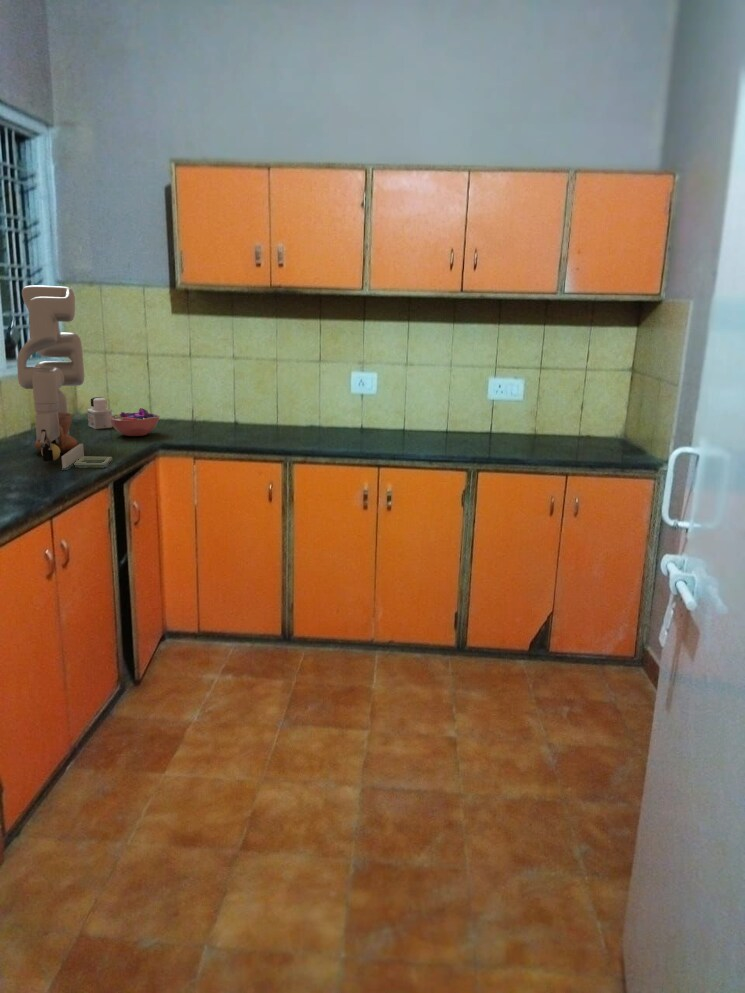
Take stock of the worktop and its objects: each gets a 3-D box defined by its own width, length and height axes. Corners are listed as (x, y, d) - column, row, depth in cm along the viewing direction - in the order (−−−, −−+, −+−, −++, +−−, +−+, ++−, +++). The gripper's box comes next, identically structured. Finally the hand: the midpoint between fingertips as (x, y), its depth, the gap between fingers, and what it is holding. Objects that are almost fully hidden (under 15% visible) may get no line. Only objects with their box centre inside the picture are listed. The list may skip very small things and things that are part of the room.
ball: (45, 458, 241) (44, 441, 239) (63, 458, 241) (62, 441, 240) (39, 462, 235) (38, 445, 233) (57, 462, 236) (56, 445, 234)
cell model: (104, 434, 289) (103, 407, 286) (150, 430, 302) (149, 404, 299) (120, 441, 277) (118, 414, 274) (167, 436, 290) (165, 410, 287)
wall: (80, 457, 249) (79, 443, 248) (84, 457, 249) (83, 443, 248) (62, 470, 230) (61, 456, 229) (66, 470, 230) (65, 456, 229)
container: (88, 426, 304) (86, 397, 300) (105, 424, 309) (103, 396, 305) (95, 429, 298) (93, 399, 295) (112, 427, 303) (110, 398, 300)
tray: (83, 461, 244) (82, 456, 243) (112, 461, 245) (111, 456, 244) (74, 468, 234) (74, 462, 234) (104, 468, 235) (104, 463, 235)
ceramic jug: (32, 449, 258) (29, 411, 254) (73, 446, 266) (71, 410, 262) (39, 459, 244) (35, 420, 240) (82, 456, 251) (79, 417, 247)
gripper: (44, 402, 240) (48, 452, 246) (25, 411, 224) (31, 464, 229) (66, 403, 241) (70, 452, 247) (49, 412, 225) (54, 465, 230)
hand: (51, 458), depth 238 cm, fingers closed on ball, 5 cm apart
